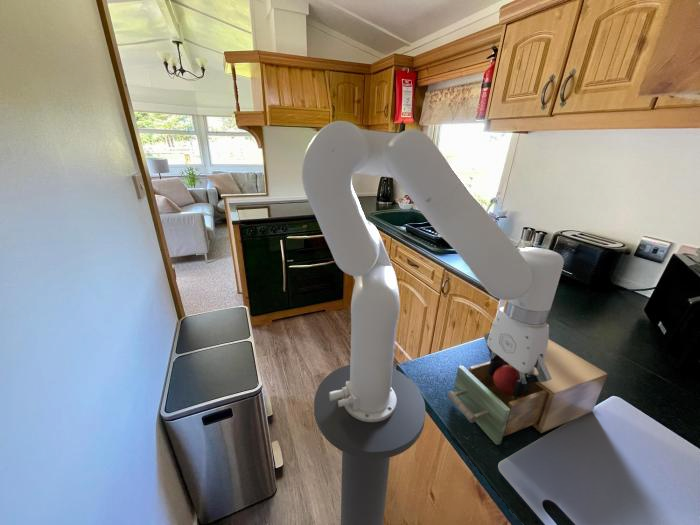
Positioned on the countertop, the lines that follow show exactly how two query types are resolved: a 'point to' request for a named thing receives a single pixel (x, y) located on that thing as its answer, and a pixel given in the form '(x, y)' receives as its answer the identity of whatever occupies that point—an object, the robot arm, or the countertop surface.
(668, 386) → the countertop surface
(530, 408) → the drawer
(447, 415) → the countertop surface
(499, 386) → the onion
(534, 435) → the countertop surface
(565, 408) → the cabinet
